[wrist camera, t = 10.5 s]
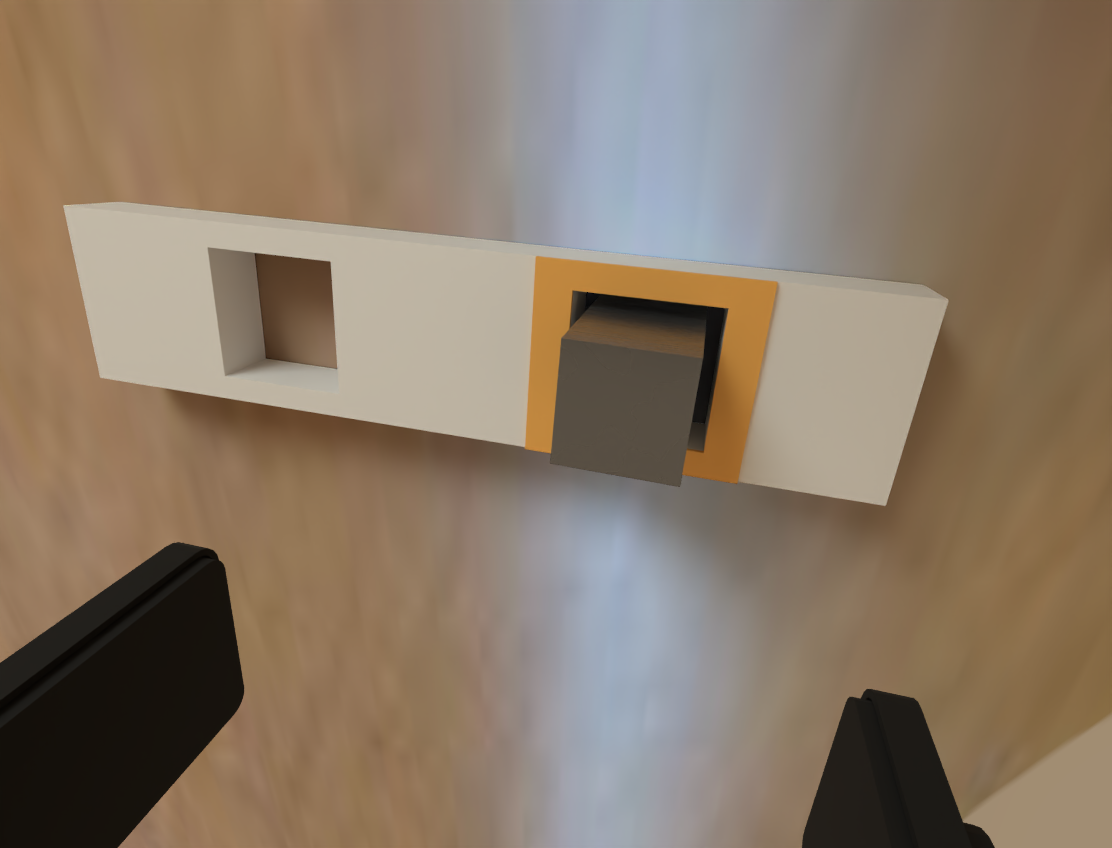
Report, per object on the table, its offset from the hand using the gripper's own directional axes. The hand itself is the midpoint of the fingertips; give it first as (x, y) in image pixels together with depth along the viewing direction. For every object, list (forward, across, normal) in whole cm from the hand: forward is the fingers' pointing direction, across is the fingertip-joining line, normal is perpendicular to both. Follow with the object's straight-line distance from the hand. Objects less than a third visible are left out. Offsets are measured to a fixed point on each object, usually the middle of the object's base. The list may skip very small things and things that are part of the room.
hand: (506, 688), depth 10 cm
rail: (+20, +8, 0) cm, 22 cm away
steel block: (+20, 0, 0) cm, 20 cm away
